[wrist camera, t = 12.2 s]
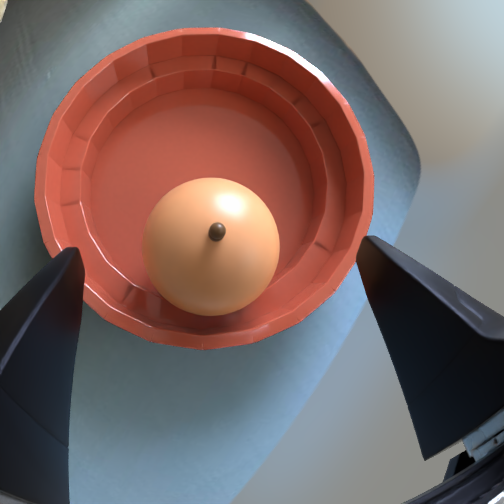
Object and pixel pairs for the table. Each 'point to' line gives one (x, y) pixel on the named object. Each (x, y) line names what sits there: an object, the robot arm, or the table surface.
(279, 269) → the bowl
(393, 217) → the table surface
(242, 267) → the peach
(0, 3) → the ceramic bowl
